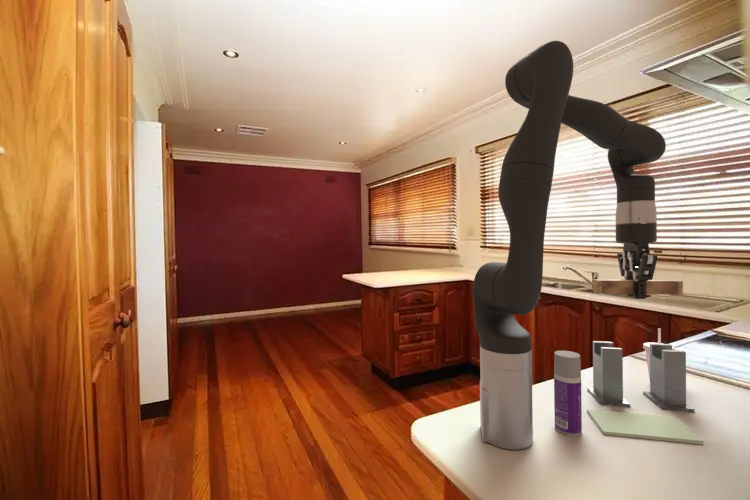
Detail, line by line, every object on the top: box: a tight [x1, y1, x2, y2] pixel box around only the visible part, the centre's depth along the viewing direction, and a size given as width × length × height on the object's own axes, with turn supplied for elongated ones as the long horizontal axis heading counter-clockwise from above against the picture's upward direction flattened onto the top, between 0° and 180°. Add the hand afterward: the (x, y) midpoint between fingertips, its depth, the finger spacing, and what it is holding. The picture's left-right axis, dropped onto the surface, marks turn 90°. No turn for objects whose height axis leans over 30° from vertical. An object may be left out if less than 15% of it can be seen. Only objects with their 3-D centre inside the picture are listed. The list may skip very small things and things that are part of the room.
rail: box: [592, 278, 684, 296], centre depth 80 cm, size 17×3×3 cm, turn 76°
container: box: [553, 350, 583, 437], centre depth 68 cm, size 5×5×15 cm
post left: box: [586, 340, 631, 408], centre depth 82 cm, size 6×8×12 cm
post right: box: [642, 343, 696, 413], centre depth 79 cm, size 6×8×12 cm
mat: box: [586, 409, 705, 445], centre depth 69 cm, size 16×9×1 cm, turn 76°
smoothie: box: [642, 328, 676, 380], centre depth 90 cm, size 6×6×14 cm
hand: (635, 297), depth 80 cm, fingers closed on rail, 3 cm apart
